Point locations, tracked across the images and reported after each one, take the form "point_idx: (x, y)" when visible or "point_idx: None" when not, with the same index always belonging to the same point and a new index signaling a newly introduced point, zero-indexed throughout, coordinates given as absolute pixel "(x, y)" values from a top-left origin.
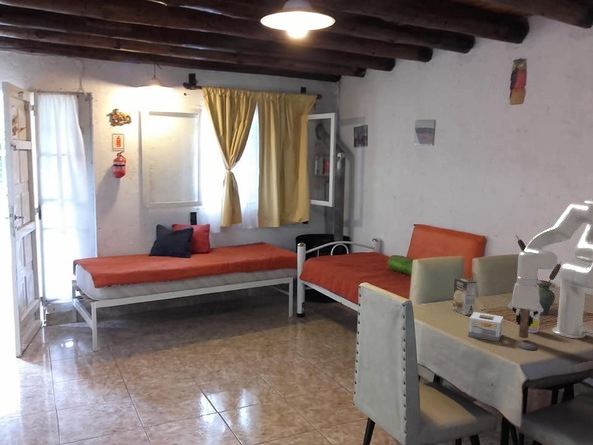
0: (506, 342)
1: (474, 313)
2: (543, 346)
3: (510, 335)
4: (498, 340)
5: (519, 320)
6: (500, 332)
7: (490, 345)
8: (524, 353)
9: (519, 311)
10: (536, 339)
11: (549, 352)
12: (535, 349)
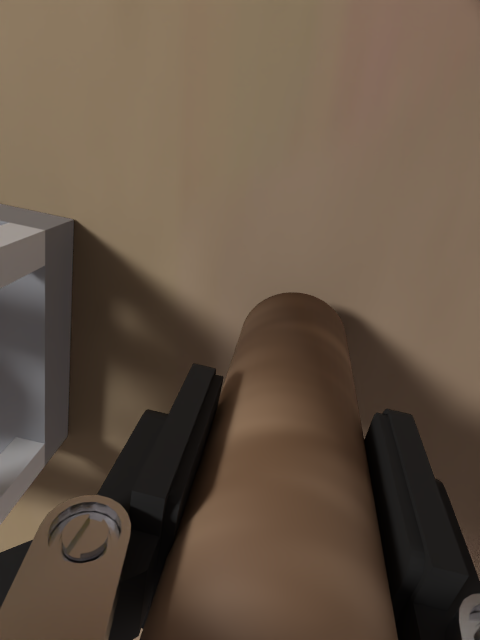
0: (133, 430)
1: None
2: (466, 436)
3: (167, 203)
4: (61, 442)
5: None
6: (39, 325)
7: (25, 521)
8: None
9: (113, 606)
10: (461, 239)
11: (469, 552)
12: None
